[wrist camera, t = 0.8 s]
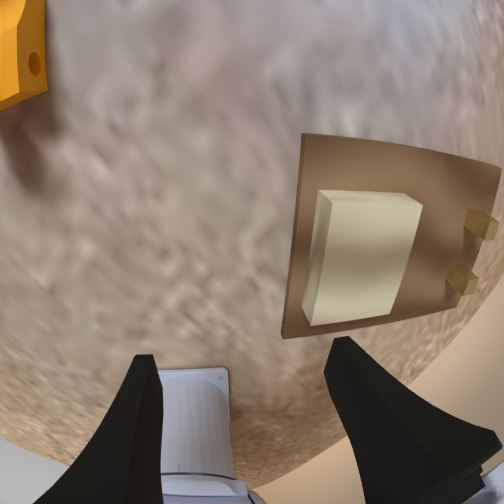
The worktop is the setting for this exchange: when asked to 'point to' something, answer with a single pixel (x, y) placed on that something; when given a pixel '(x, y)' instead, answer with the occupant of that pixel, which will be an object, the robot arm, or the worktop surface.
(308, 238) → the bench board
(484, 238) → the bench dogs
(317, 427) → the worktop surface
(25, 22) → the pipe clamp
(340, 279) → the ivory block
